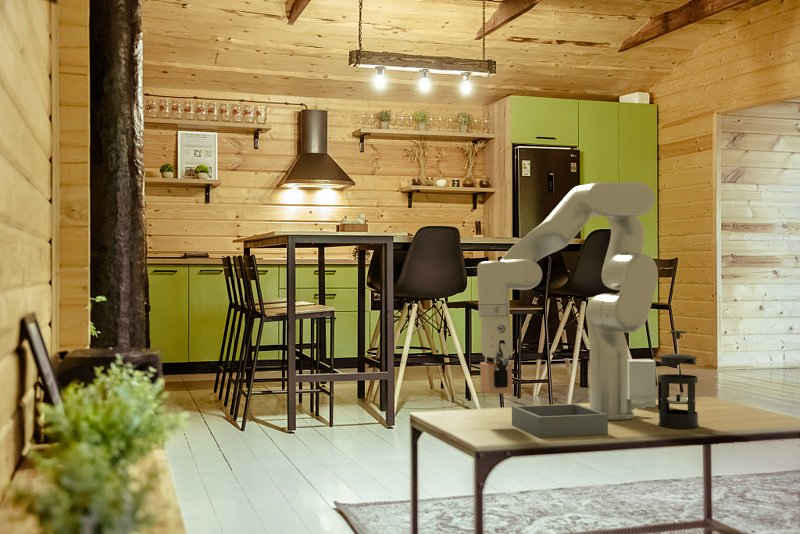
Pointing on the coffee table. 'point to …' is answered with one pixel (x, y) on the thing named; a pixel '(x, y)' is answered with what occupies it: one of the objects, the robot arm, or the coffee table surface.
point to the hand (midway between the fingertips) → (496, 384)
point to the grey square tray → (559, 420)
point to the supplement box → (642, 381)
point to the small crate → (488, 378)
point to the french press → (677, 416)
